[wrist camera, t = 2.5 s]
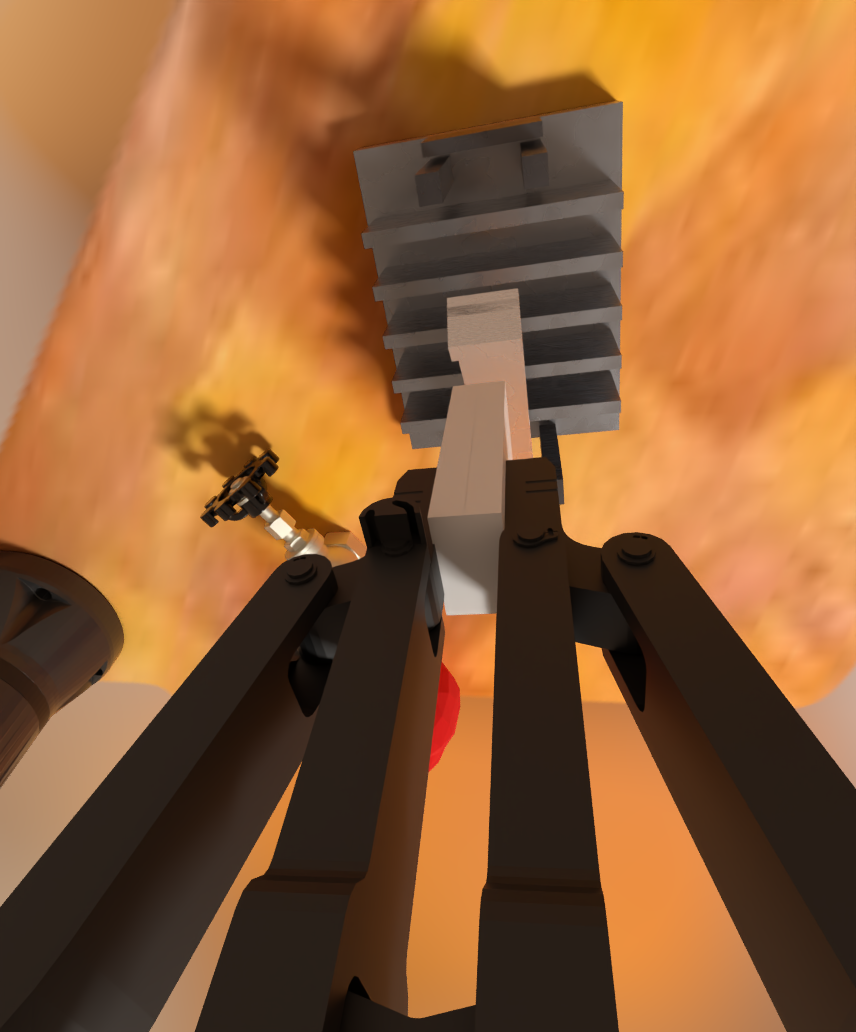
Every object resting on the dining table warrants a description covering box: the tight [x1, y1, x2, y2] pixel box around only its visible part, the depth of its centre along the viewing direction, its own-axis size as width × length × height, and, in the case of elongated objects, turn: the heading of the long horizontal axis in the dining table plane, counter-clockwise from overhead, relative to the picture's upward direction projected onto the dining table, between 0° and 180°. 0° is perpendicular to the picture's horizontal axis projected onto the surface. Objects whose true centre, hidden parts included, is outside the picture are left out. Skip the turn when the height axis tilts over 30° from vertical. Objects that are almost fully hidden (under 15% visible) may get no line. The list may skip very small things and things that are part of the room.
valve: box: [200, 449, 367, 567], centre depth 44 cm, size 7×7×12 cm
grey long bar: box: [447, 288, 533, 460], centre depth 28 cm, size 16×3×2 cm
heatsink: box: [353, 100, 624, 504], centre depth 33 cm, size 18×13×8 cm
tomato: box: [428, 662, 460, 772], centre depth 51 cm, size 12×12×10 cm
